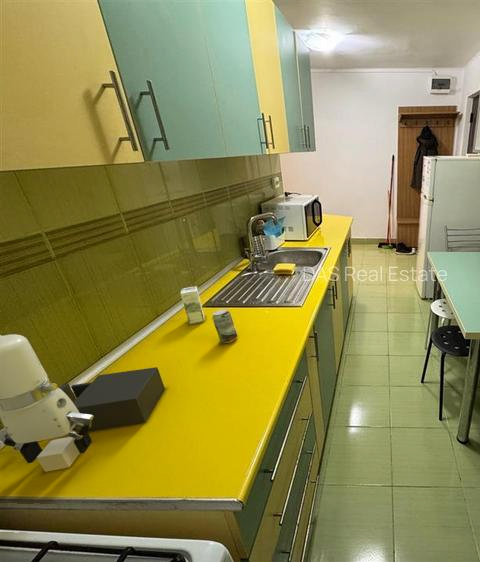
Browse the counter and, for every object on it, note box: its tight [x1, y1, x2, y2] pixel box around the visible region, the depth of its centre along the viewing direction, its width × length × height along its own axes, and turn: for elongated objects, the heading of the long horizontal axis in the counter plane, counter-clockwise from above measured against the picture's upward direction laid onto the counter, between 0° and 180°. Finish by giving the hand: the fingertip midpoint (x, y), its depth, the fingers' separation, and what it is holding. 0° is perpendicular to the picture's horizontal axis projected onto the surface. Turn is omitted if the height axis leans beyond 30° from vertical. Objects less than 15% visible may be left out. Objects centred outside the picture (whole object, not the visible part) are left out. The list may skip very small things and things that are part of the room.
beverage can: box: [211, 308, 238, 344], centre depth 112 cm, size 6×7×12 cm
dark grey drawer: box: [59, 381, 93, 426], centre depth 79 cm, size 21×11×6 cm, turn 103°
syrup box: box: [180, 285, 205, 326], centre depth 125 cm, size 6×6×14 cm
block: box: [36, 436, 81, 473], centre depth 68 cm, size 4×4×4 cm
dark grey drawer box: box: [73, 366, 166, 433], centre depth 81 cm, size 15×13×8 cm
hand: (61, 452), depth 68 cm, fingers open, 9 cm apart
